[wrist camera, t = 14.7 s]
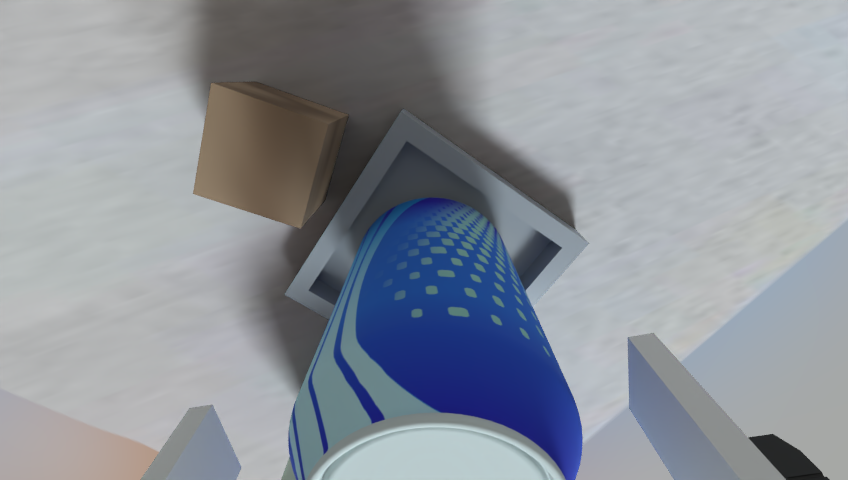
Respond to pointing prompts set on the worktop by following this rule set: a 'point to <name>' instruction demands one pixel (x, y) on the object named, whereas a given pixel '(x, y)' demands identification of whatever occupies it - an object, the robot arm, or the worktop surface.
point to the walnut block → (267, 151)
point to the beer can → (434, 363)
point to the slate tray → (444, 178)
